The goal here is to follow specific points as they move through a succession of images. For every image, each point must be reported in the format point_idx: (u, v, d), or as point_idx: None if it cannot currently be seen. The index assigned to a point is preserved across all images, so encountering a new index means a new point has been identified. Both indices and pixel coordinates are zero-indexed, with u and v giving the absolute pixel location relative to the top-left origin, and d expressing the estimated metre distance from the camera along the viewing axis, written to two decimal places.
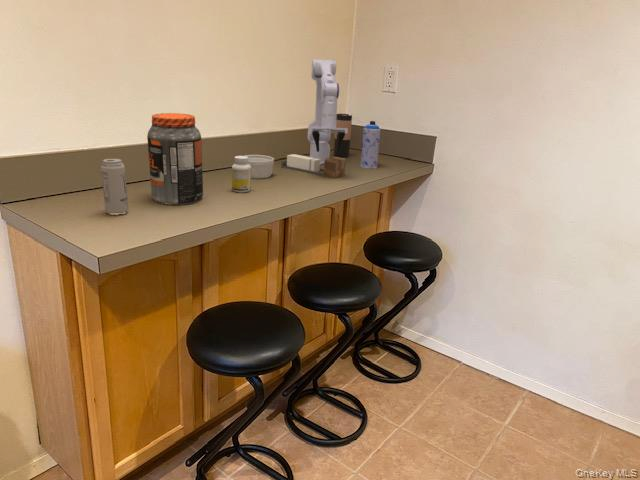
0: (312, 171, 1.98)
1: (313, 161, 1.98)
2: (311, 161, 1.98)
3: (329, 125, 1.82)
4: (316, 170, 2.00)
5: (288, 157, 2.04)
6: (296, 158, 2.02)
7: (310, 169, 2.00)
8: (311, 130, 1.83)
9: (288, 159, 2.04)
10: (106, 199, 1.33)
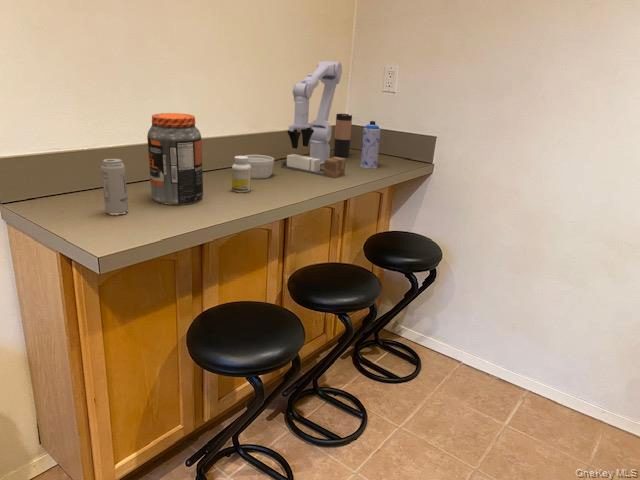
0: (312, 171, 1.98)
1: (313, 161, 1.98)
2: (311, 161, 1.98)
3: (306, 123, 1.97)
4: (316, 170, 2.00)
5: (288, 157, 2.04)
6: (296, 158, 2.02)
7: (310, 169, 2.00)
8: (293, 129, 1.94)
9: (288, 159, 2.04)
10: (106, 199, 1.33)
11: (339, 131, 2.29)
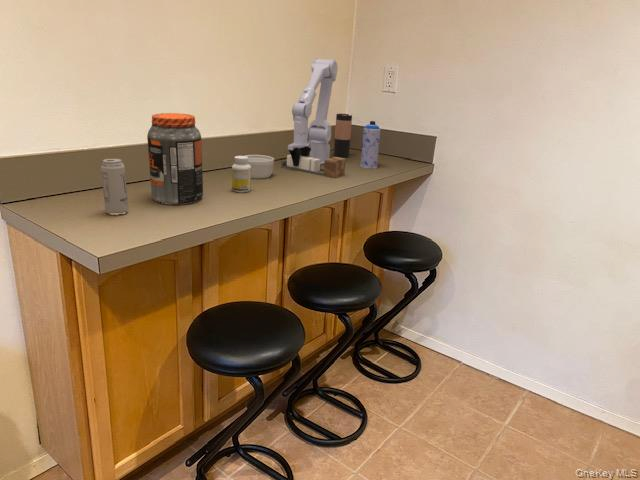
0: (312, 171, 1.98)
1: (313, 161, 1.98)
2: (311, 161, 1.98)
3: (305, 142, 2.00)
4: (316, 170, 2.00)
5: (288, 157, 2.04)
6: None
7: (310, 169, 2.00)
8: (292, 148, 1.96)
9: (288, 159, 2.04)
10: (106, 199, 1.33)
11: (339, 131, 2.29)
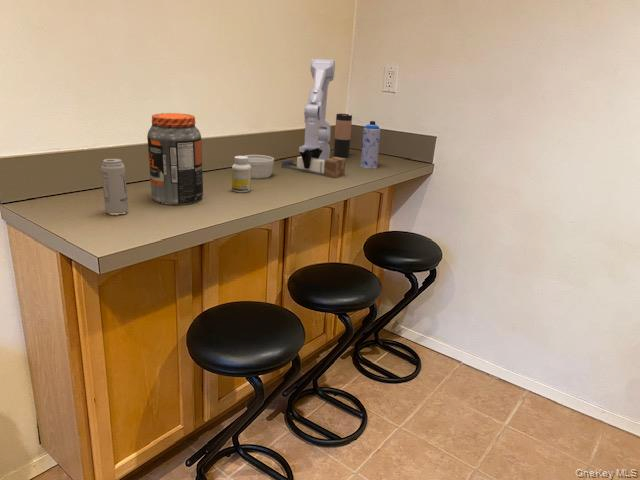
0: (312, 171, 1.98)
1: (324, 163, 1.95)
2: (322, 163, 1.96)
3: (316, 144, 1.97)
4: None
5: (298, 159, 2.02)
6: None
7: (321, 171, 1.97)
8: (303, 150, 1.94)
9: (298, 161, 2.02)
10: (106, 199, 1.33)
11: (339, 131, 2.29)
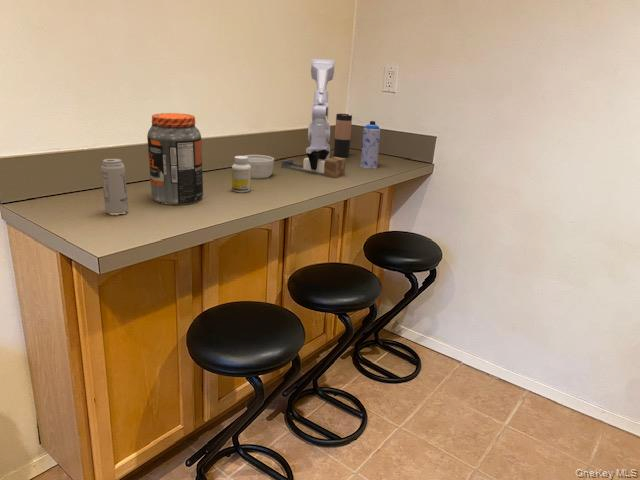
0: (312, 171, 1.98)
1: None
2: None
3: (323, 145, 1.95)
4: None
5: (305, 160, 2.00)
6: None
7: None
8: (310, 152, 1.92)
9: (305, 162, 2.00)
10: (106, 199, 1.33)
11: (339, 131, 2.29)
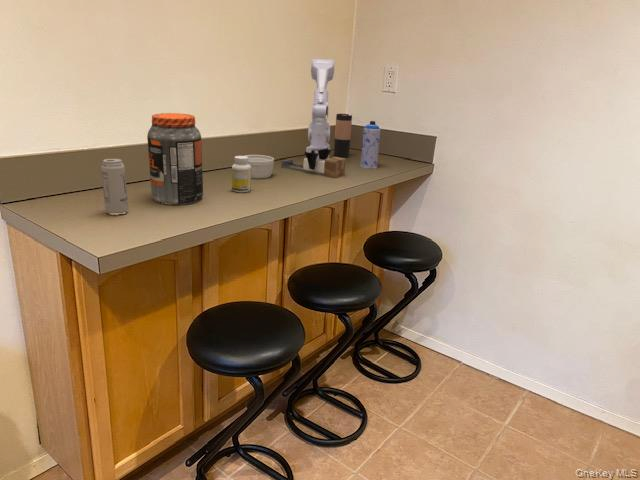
0: (312, 171, 1.98)
1: None
2: None
3: (324, 144, 1.95)
4: None
5: (305, 160, 2.00)
6: None
7: None
8: (310, 151, 1.92)
9: (305, 162, 2.00)
10: (106, 199, 1.33)
11: (339, 131, 2.29)
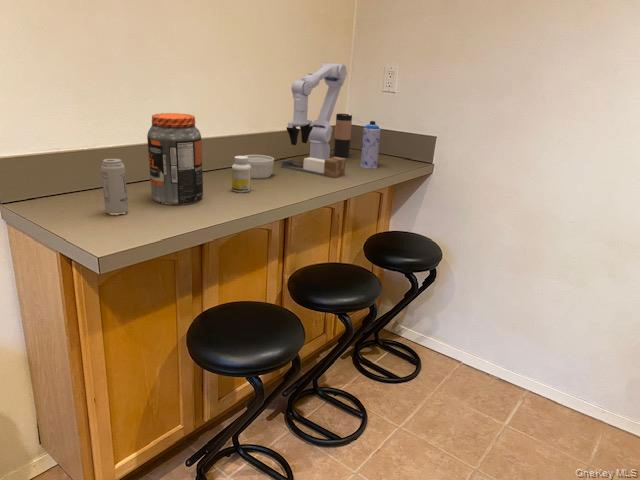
0: (312, 171, 1.98)
1: None
2: None
3: (305, 120, 1.99)
4: None
5: (305, 160, 2.00)
6: (313, 161, 1.98)
7: None
8: (292, 126, 1.96)
9: (305, 162, 2.00)
10: (106, 199, 1.33)
11: (339, 131, 2.29)
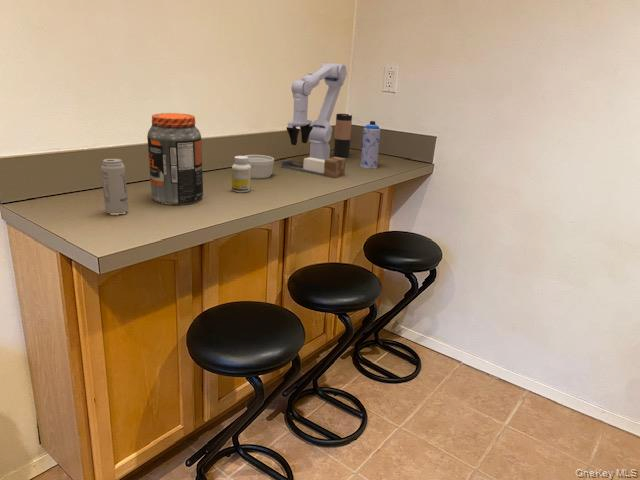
0: (312, 171, 1.98)
1: None
2: None
3: (305, 120, 1.99)
4: None
5: (305, 160, 2.00)
6: (313, 161, 1.98)
7: None
8: (292, 126, 1.96)
9: (305, 162, 2.00)
10: (106, 199, 1.33)
11: (339, 131, 2.29)
